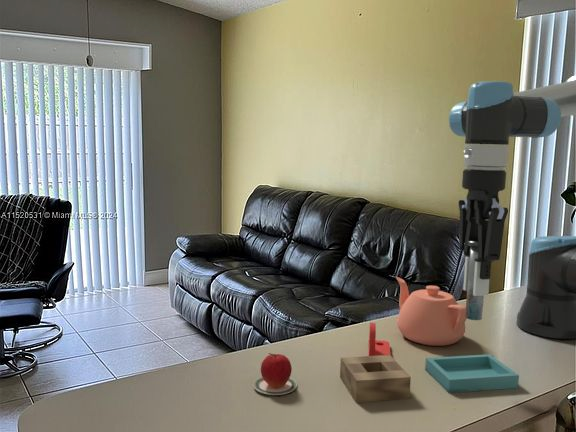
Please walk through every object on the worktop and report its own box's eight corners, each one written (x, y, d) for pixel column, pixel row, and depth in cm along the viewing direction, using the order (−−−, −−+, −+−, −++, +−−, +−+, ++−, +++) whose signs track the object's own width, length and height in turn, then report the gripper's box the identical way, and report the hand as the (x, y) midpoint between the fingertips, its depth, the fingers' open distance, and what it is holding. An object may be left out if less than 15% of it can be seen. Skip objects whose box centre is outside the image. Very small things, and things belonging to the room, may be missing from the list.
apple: (245, 384, 100) (245, 351, 99) (279, 374, 105) (280, 342, 104) (270, 401, 94) (270, 366, 93) (305, 389, 99) (306, 355, 98)
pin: (477, 314, 105) (483, 239, 103) (488, 320, 101) (494, 243, 99) (458, 314, 104) (463, 239, 102) (469, 321, 100) (474, 243, 98)
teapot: (372, 327, 132) (374, 278, 131) (417, 318, 140) (419, 272, 138) (440, 359, 114) (443, 302, 112) (487, 346, 122) (491, 293, 120)
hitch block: (389, 374, 106) (390, 355, 105) (409, 398, 96) (410, 377, 95) (340, 377, 104) (340, 357, 103) (355, 402, 94) (356, 380, 94)
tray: (488, 365, 111) (489, 354, 110) (517, 387, 101) (519, 375, 101) (425, 369, 108) (425, 358, 108) (448, 392, 98) (449, 379, 98)
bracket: (391, 368, 109) (393, 330, 108) (368, 366, 110) (370, 329, 109) (388, 345, 121) (390, 311, 120) (368, 344, 121) (369, 310, 120)
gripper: (445, 165, 106) (438, 282, 109) (489, 170, 90) (479, 305, 94) (480, 166, 107) (472, 281, 110) (529, 171, 92) (518, 304, 95)
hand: (475, 292), depth 102 cm, fingers closed on pin, 3 cm apart
